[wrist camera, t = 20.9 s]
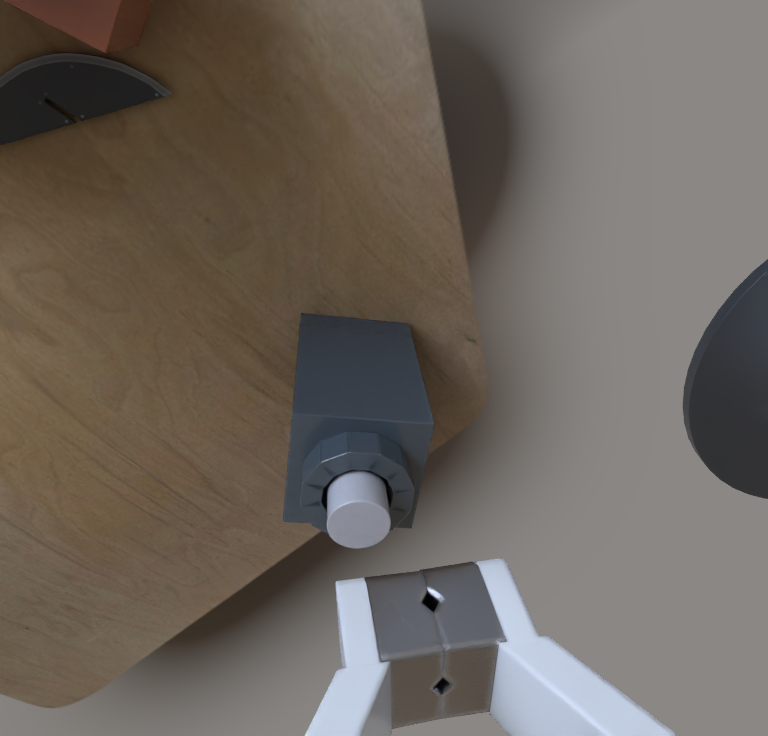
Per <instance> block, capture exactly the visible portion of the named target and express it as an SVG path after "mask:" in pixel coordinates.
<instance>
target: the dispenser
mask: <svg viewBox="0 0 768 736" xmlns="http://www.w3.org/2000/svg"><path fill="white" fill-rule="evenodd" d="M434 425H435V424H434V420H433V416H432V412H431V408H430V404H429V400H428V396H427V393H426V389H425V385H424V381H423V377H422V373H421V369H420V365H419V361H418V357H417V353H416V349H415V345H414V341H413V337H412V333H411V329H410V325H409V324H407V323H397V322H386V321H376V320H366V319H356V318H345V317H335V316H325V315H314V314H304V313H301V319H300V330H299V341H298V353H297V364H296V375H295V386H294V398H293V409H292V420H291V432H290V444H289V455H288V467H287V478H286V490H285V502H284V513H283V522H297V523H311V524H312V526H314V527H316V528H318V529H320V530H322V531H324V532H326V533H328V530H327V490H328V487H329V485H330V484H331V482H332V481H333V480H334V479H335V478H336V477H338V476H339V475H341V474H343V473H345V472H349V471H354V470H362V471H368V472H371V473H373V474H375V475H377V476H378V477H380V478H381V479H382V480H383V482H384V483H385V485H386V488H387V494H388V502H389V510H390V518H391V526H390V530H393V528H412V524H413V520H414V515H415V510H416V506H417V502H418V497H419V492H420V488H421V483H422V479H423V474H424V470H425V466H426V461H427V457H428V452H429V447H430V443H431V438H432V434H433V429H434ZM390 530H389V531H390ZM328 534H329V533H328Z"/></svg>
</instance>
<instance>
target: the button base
mask: <svg viewBox="0 0 768 736" xmlns="http://www.w3.org/2000/svg"><path fill="white" fill-rule="evenodd" d="M3 1H5V2H7V3H9V4H11V5H13V6H15V7H17V8H19V9H21V10H23V11H24V12H26V13H28V14H30V15H32V16H34V17H36V18H38V19H40V20H42V21H44V22H46V23H48V24H50V25H51V26H53V27H55V28H57V29H59V30H61V31H63V32H65V33H67V34H69V35H71V36H73V37H75V38H77V39H78V40H80V41H82V42H84V43H86V44H88V45H90V46H92V47H94V48H96V49H98V50H100V51H102V52H104V53H109V52H113V51H118V50H123V49H127V48H132V47H137V46H138V45H139V42H140V39H141V36H142V32H143V29H144V26H145V23H146V20H147V17H148V13H149V10H150V7H151V4H152V1H153V0H3Z"/></svg>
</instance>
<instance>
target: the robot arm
mask: <svg viewBox="0 0 768 736" xmlns="http://www.w3.org/2000/svg"><path fill="white" fill-rule="evenodd" d="M336 598H337V611H338V612H337V613H338V626H339V638H340V649H341V659H342V667H343V669H339V670H337V672H336V674H335V676H334V678H333V680H332V682H331V684H330V686H329V688H328V690H327V692H326V694H325V696H324V698H323V700H322V702H321V704H320V706H319V708H318V710H317V712H316V714H315V716H314V718H313V720H312V723H311V724H310V726H309V728H308V730H307V732H306V735H305V736H390V735H391V733H392V729H394V728H398V727H403V726H408V725H413V724H418V723H422V722H427V721H432V720H437V719H442V718H449V717H456V716H463V715H469V714H476V713H483V712H490V715H491V716H492V717H493V718H494V719H495V720H496V722H497V723H498V724H499V725H500V726H501V727H502V728H503V729H504V730H505V731H506V732H507V734H508V735H509V736H675V734H674V732H673V731H672V730H670V729H669V728H668V727H666V726H665V725H664V724H662V723H661V722H660V721H658V720H657V719H656V718H655V717H653V716H652V715H651V714H650V713H648V712H647V711H646V710H644V709H643V708H641V707H640V706H639V705H638V704H637V703H635V702H634V701H633V700H631V699H630V698H629V697H627V696H626V695H625V694H623V693H622V692H621V691H620V690H618V689H617V688H616V687H614V686H613V685H612V684H610V683H609V682H608V681H606V680H605V679H604V678H602V677H601V676H600V675H599V674H597V673H596V672H595V671H593V670H592V669H591V668H589V667H588V666H587V665H586V664H584V663H583V662H582V661H580V660H579V659H578V658H576V657H575V656H574V655H572V654H571V653H570V652H568V651H567V650H566V649H565V648H563V647H562V646H561V645H559V644H558V643H557V642H556V641H554V640H553V639H552V638H550V637H549V636H540V637H539V634H538V632H537V630H536V628H535V625H534V623H533V621H532V619H531V616H530V614H529V612H528V609H527V607H526V605H525V603H524V600H523V598H522V596H521V594H520V591H519V589H518V587H517V584H516V582H515V580H514V578H513V575H512V573H511V571H510V568H509V566H508V564H507V562H506V561H505V560H504V559H503V558H499V559H492V560H485V561H478V562H467V563H461V564H455V565H448V566H442V567H436V568H430V569H423V570H420V571H416V572H407V573H398V574H390V575H381V576H373V577H365V579H364V578H359V579H351V580H343V581H336Z"/></svg>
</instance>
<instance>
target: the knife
mask: <svg viewBox="0 0 768 736" xmlns="http://www.w3.org/2000/svg"><path fill="white" fill-rule="evenodd" d="M170 94H173V93H171V92H170V91H169V90H167V89H166V88H165V87H163V86H162V85H160V84H159V83H158V82H156V81H155V80H153V79H152V78H150V77H148V76H146V75H144V74H143V73H141V72H139V71H137V70H135V69H133V68H131V67H128V66H126V65H124V64H122V63H119V62H115V61H112V60H108V59H105V58H101V57H97V56H90V55H83V54H71V53H60V54H51V55H46V56H41V57H38V58H34V59H31V60H28V61H26V62H23V63H21V64H19V65H17V66H16V67H14V68H13V69H11V70H10V71H8V72H6V73H5V74H4V75H2V76H1V77H0V145H3V144H6V143H10V142H13V141H16V140H20V139H23V138H26V137H30V136H33V135H36V134H40V133H43V132H46V131H50V130H53V129H57V128H60V127H63V126H67V125H70V124H73V123H76V121H75V120H73V119H71V118H70V117H68V116H67V115H65V114H64V113H62V112H61V111H59V110H58V109H56V108H55V107H53V106H52V105H50V104H49V103H47V102H46V99H47V98H48V99H50V100H51V101H53V102H54V103H56V104H57V105H59V106H60V107H62V108H63V109H65V110H67V111H68V112H70V113H71V114H73V115H74V116H76V117H77V118H79V119H80V120H82V121H83V120H87V119H90V118H94V117H97V116H100V115H104V114H107V113H110V112H114V111H117V110H120V109H124V108H127V107H130V106H134V105H137V104H141V103H144V102H147V101H151V100H154V99H157V98H161V97H164V96H167V95H170Z"/></svg>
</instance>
